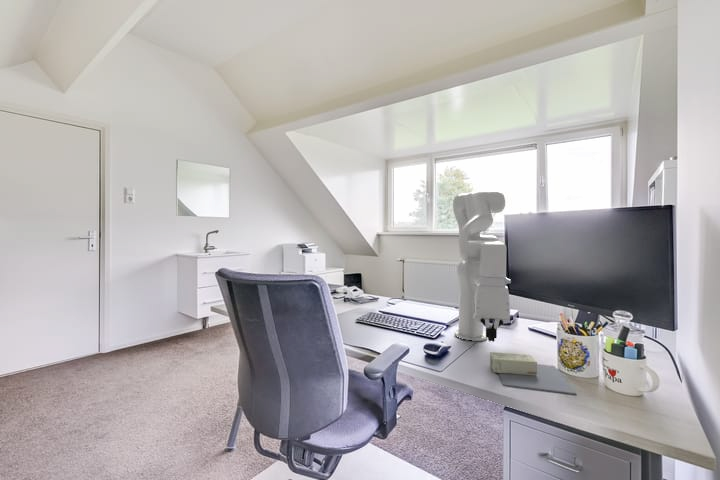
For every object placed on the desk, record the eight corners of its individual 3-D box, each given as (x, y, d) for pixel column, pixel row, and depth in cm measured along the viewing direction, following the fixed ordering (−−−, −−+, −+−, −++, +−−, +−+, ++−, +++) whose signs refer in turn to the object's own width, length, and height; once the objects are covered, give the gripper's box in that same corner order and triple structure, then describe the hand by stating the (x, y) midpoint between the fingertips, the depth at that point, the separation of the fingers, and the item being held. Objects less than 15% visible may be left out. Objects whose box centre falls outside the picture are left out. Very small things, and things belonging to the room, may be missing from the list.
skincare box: (493, 372, 97) (537, 377, 94) (493, 358, 97) (537, 362, 94) (489, 364, 103) (530, 368, 101) (489, 351, 103) (530, 354, 101)
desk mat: (494, 360, 107) (494, 359, 107) (554, 367, 102) (554, 365, 102) (503, 385, 90) (503, 384, 90) (576, 394, 85) (576, 393, 85)
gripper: (516, 281, 101) (514, 338, 102) (466, 278, 105) (465, 333, 106) (521, 285, 94) (519, 346, 95) (467, 282, 98) (466, 341, 98)
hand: (491, 339), depth 100 cm, fingers closed
